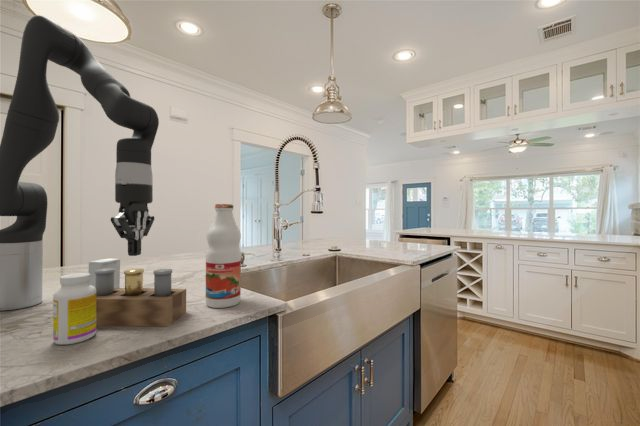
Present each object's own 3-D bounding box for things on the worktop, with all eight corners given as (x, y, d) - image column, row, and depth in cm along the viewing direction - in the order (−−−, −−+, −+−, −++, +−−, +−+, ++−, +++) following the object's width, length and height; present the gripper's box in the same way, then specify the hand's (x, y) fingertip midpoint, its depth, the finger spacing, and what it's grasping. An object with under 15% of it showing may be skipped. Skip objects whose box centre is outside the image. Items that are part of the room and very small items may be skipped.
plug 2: (149, 302, 66) (149, 272, 66) (159, 297, 70) (159, 268, 70) (166, 302, 66) (166, 272, 66) (175, 297, 70) (175, 269, 70)
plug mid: (119, 302, 66) (119, 271, 66) (131, 297, 70) (131, 268, 70) (136, 302, 66) (136, 272, 66) (147, 297, 70) (147, 268, 70)
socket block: (74, 325, 64) (74, 298, 64) (104, 311, 73) (104, 287, 73) (167, 326, 64) (167, 299, 64) (186, 312, 73) (186, 288, 73)
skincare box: (100, 307, 76) (100, 262, 76) (87, 305, 77) (87, 261, 77) (120, 300, 82) (120, 258, 82) (108, 298, 83) (108, 258, 83)
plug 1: (89, 301, 66) (90, 271, 66) (103, 296, 70) (103, 268, 70) (106, 302, 66) (107, 271, 66) (119, 296, 70) (119, 268, 70)
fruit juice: (244, 298, 85) (245, 204, 85) (235, 309, 76) (236, 204, 75) (212, 297, 85) (213, 204, 85) (199, 308, 76) (200, 203, 75)
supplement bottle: (104, 331, 61) (104, 271, 61) (79, 346, 54) (79, 279, 54) (72, 331, 61) (72, 271, 61) (43, 346, 54) (43, 279, 54)
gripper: (136, 185, 75) (136, 251, 75) (97, 180, 62) (97, 260, 62) (165, 185, 75) (165, 251, 75) (131, 180, 62) (131, 260, 62)
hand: (134, 255), depth 68 cm, fingers closed
